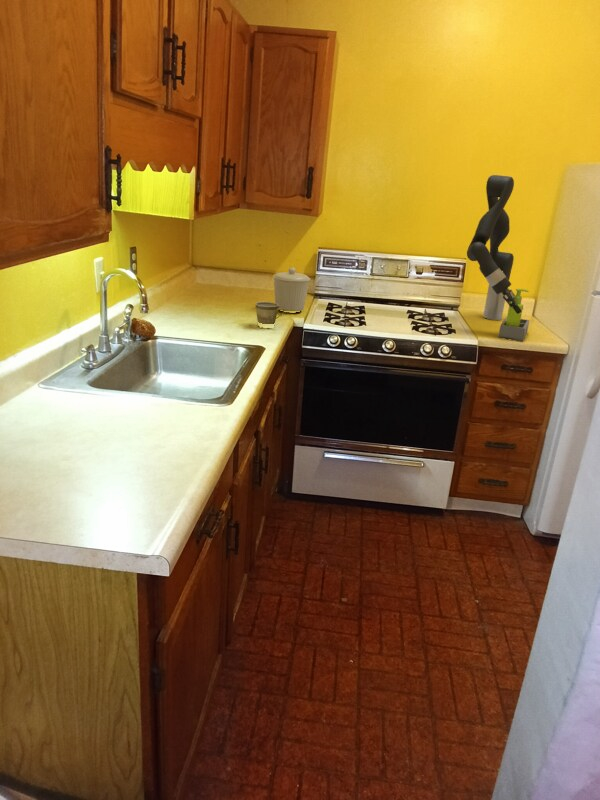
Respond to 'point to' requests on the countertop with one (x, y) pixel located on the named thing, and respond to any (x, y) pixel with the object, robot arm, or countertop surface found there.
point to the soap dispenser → (512, 316)
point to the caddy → (514, 330)
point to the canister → (291, 290)
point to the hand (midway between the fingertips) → (520, 311)
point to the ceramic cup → (267, 312)
